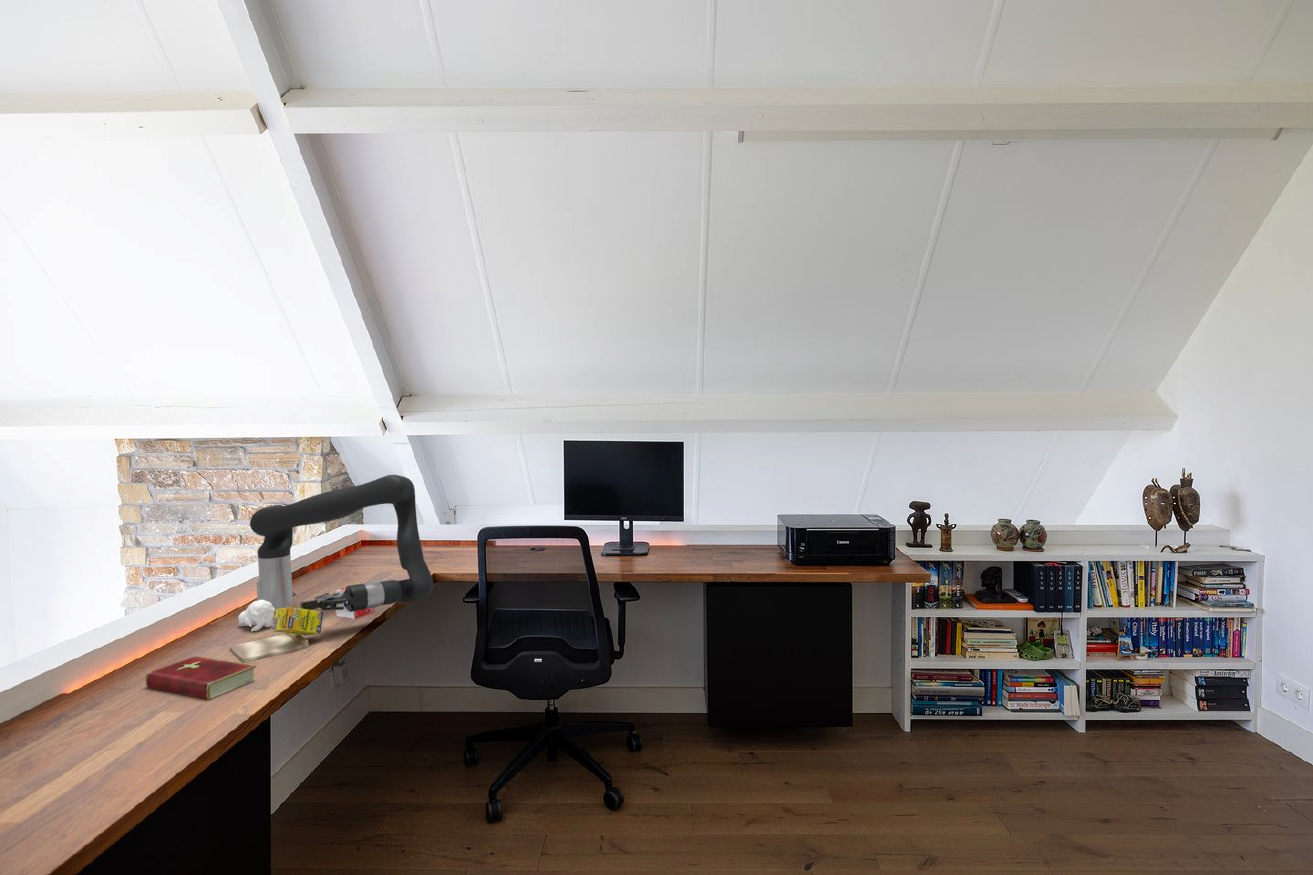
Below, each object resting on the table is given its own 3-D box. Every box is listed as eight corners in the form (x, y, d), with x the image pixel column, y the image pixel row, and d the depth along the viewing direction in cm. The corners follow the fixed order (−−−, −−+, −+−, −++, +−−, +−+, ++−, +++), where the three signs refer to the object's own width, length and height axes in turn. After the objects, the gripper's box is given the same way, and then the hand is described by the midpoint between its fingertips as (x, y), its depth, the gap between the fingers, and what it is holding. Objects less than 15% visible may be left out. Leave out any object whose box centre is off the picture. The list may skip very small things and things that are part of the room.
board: (243, 662, 180) (243, 655, 180) (229, 649, 191) (229, 642, 190) (308, 647, 191) (308, 640, 191) (292, 635, 201) (292, 629, 201)
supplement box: (321, 633, 196) (287, 629, 186) (305, 635, 198) (271, 631, 189) (324, 611, 198) (290, 606, 189) (308, 614, 200) (274, 609, 191)
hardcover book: (208, 702, 158) (207, 683, 157) (146, 689, 165) (145, 671, 165) (256, 681, 169) (255, 664, 168) (196, 671, 176) (195, 654, 176)
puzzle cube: (374, 611, 224) (373, 586, 223) (354, 618, 217) (353, 593, 216) (356, 608, 227) (355, 584, 227) (335, 615, 220) (334, 590, 220)
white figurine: (255, 603, 203) (229, 602, 209) (258, 632, 203) (232, 631, 209) (275, 597, 209) (249, 597, 214) (278, 626, 209) (252, 625, 215)
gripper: (355, 580, 212) (293, 589, 200) (373, 587, 203) (309, 597, 191) (355, 604, 212) (293, 615, 200) (373, 613, 203) (309, 625, 191)
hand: (301, 606), depth 196 cm, fingers closed
